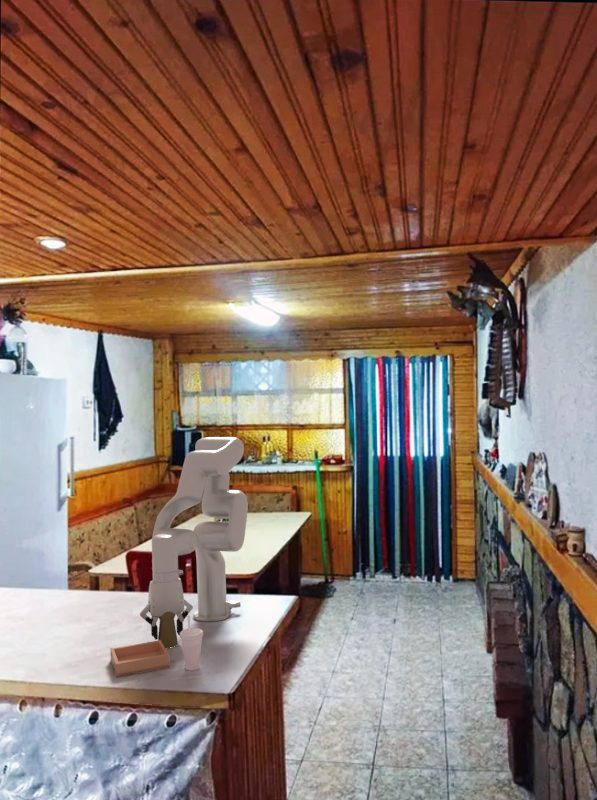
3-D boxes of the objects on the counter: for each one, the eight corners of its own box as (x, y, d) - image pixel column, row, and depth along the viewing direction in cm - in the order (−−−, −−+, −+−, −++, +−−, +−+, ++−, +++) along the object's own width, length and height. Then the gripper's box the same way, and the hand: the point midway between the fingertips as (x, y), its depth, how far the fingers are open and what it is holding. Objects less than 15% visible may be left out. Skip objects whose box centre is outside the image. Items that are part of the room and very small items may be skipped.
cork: (173, 649, 190) (172, 611, 190) (154, 648, 191) (152, 610, 191) (181, 641, 196) (180, 604, 196) (162, 640, 197) (161, 604, 197)
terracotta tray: (160, 652, 188) (160, 640, 188) (169, 667, 177) (169, 654, 177) (110, 661, 182) (110, 648, 182) (116, 677, 171) (116, 664, 171)
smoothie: (181, 663, 179) (180, 612, 179) (205, 662, 180) (203, 611, 180) (179, 673, 173) (177, 620, 173) (203, 671, 173) (202, 619, 173)
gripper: (191, 569, 200) (193, 627, 200) (134, 576, 194) (135, 637, 194) (197, 575, 193) (199, 635, 193) (138, 583, 187) (140, 645, 187)
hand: (167, 635), depth 193 cm, fingers open, 6 cm apart
